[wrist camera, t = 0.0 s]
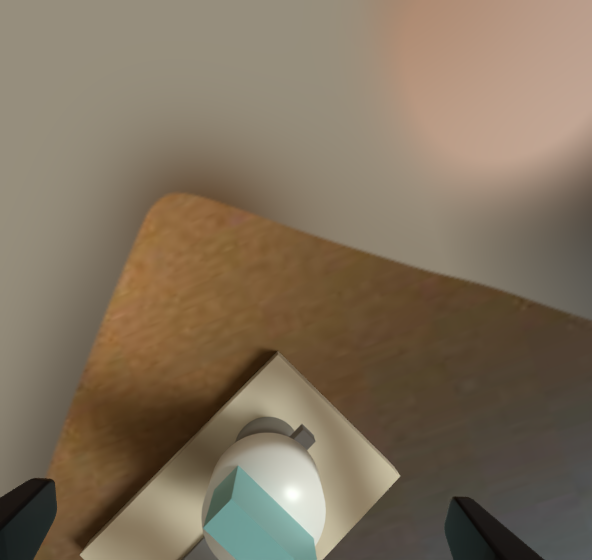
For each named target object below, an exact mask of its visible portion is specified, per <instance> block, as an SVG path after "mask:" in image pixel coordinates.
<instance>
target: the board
mask: <svg viewBox="0 0 592 560" xmlns="http://www.w3.org/2000/svg"><path fill="white" fill-rule="evenodd" d="M257 433H277V434H282V435H285V436H288V437H290V438H292V439H294V440H295V441H297V442H298V443H300V444H301V445H302V446H303V447H304V448H305V449H306V450H307V451H308V452H309V454H310V455H311V457H312V458H313V460H314V462H315V464H316V467H317V470H318V473H319V477H320V482H321V486H322V490H323V494H324V499H325V507H326V516H325V523H324V528H323V531H322V534H321V536H320V539H319V541H318V543H317V544H316V546H315V550H316V557H317V560H323V559H324V557H325V556H326V555H327V554H328V553H329V552H330V551H331V550H332V549H333V548H334V547H335V546H336V545H337V543H338V542H339V541H340V540H341V539H342V538H343V537H344V536H345V535H346V534H347V533H348V532H349V531H350V530H351V528H352V527H353V526H354V525H355V524H356V523H357V522H358V521H359V520H360V519H361V518H362V517H363V516H364V515H365V513H366V512H367V511H368V510H369V509H370V508H371V507H372V506H373V505H374V504H375V503H376V502H377V501H378V500H379V498H380V497H381V496H382V495H383V494H384V493H385V492H386V491H387V490H388V489H389V488H390V487H391V486H392V484H393V483H394V482H395V481H396V480H397V479H398V478H399V477H400V475H399V473H398V472H397V470H396V469H395V467H394V466H393V465H392V464H391V463H390V462H389V461H388V460H387V459H386V458H385V457H384V456H383V455H382V454H381V453H380V452H379V451H378V450H377V449H376V448H375V447H374V446H373V445H372V444H371V443H370V442H369V441H368V440H367V439H366V438H365V437H364V436H363V435H362V434H361V433H360V432H359V431H358V430H357V429H356V428H355V427H354V426H353V425H352V424H351V423H350V422H349V421H348V420H347V419H346V418H345V417H344V416H343V415H342V414H341V413H340V412H339V411H338V410H337V409H336V408H335V407H334V406H333V405H332V404H331V403H330V402H329V401H328V400H327V399H326V398H325V397H324V396H323V395H322V394H321V393H320V392H319V391H318V390H317V389H316V388H315V387H314V386H313V385H312V384H311V383H310V382H309V381H308V380H307V379H306V378H305V377H304V376H303V375H302V374H301V373H300V372H299V371H298V370H297V369H296V368H295V367H294V366H293V365H292V364H291V363H290V362H289V361H288V360H287V359H286V358H285V357H284V356H283V355H281V354H280V353H279V352H278V351H277V352H276V353H275V354H274V355H273V356H272V357H271V358H270V359H269V360H268V361H267V362H266V363H265V364H264V365H263V366H262V367H261V368H260V369H259V370H258V371H257V372H256V373H255V374H254V375H253V376H252V377H251V378H250V379H249V380H248V381H247V382H246V383H245V384H244V386H243V387H242V388H241V389H240V390H239V391H238V392H237V393H236V394H235V395H234V396H233V397H232V398H231V399H230V400H229V401H228V402H227V403H226V404H225V405H224V406H223V407H222V408H221V409H220V410H219V411H218V412H217V413H216V414H215V415H214V416H213V417H212V418H211V419H210V420H209V421H208V422H207V423H206V424H205V425H204V426H203V427H202V428H201V429H200V430H199V431H198V432H197V433H196V434H195V435H194V436H193V437H192V438H191V439H190V440H189V441H188V442H187V443H186V444H185V445H184V446H183V447H182V448H181V449H180V450H179V451H178V452H177V453H176V454H175V455H174V456H173V457H172V458H171V459H170V460H169V461H168V462H167V463H166V464H165V465H164V466H163V467H162V468H161V469H160V470H159V471H158V472H157V473H156V474H155V475H154V476H153V477H152V478H151V479H150V480H149V481H148V482H147V483H146V484H145V485H144V486H143V487H142V488H141V489H140V490H139V491H138V492H137V493H136V494H135V495H134V496H133V497H132V498H131V499H130V500H129V501H128V502H127V503H126V504H125V505H124V506H123V507H122V508H121V509H120V511H119V512H118V513H117V514H116V515H115V516H114V517H113V518H112V519H111V520H110V521H109V522H108V523H107V524H106V525H105V526H104V527H103V528H102V529H101V530H100V531H99V532H98V533H97V534H96V535H95V536H94V537H93V538H92V539H91V540H90V541H89V542H88V544H87V545H86V547H85V548H84V549H83V551H82V552H81V554H80V556H81V557H82V558H83V559H84V560H218V558H217V557H216V556H215V555H214V554H213V552H212V551H211V550H210V548H209V546H208V544H207V542H206V540H205V537H204V534H203V529H202V520H201V515H202V506H203V501H204V498H205V495H206V492H207V489H208V486H209V483H210V479H211V476H212V473H213V471H214V468H215V466H216V464H217V462H218V460H219V459H220V457H221V456H222V455H223V453H224V452H225V451H226V450H227V449H228V448H229V447H230V446H231V445H233V444H234V443H236V442H237V441H239V440H240V439H242V438H244V437H247V436H250V435H253V434H257Z"/></svg>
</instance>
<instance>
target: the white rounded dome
mask: <svg viewBox="0 0 592 560" xmlns="http://www.w3.org/2000/svg"><path fill="white" fill-rule="evenodd" d="M325 516H326V507H325V499H324V494H323V490H322V486H321V482H320V477H319V473H318V470H317V467H316V464H315V462H314V460H313V458H312V457H311V455H310V454H309V452H308V451H307V450H306V449H305V448H304V447H303V446H302V445H301V444H300V443H298V442H297V441H295V440H294V439H292V438H290V437H288V436H285V435H282V434H277V433H257V434H253V435H250V436H247V437H244V438H242V439H240V440H239V441H237V442H236V443H234V444H233V445H231V446H230V447H229V448H228V449H227V450H226V451H225V452H224V453H223V455H222V456H221V457H220V459H219V460H218V462H217V464H216V466H215V468H214V471H213V473H212V476H211V479H210V483H209V486H208V489H207V492H206V495H205V498H204V501H203V506H202V515H201V520H202V529H203V534H204V537H205V540H206V542H207V544H208V546H209V548H210V550H211V551H212V552H213V554H214V555H215V556H216V557H217V558H218V560H317V557H316V550H315V546H316V544H317V543H318V541H319V539H320V536H321V534H322V531H323V528H324V523H325Z"/></svg>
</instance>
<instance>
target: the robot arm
mask: <svg viewBox="0 0 592 560" xmlns="http://www.w3.org/2000/svg"><path fill="white" fill-rule="evenodd" d="M56 512H57V501H56V490H55V482H54V481H53V480H52V479H47V478H33V479H30V480H28V481H26V482H25V483H23V484H22V485H20V486H18V487H17V488H15V489H13V490H12V491H10V492H9V493H7V494H5V495H4V496H2V497H0V560H33V559H34V557H35V555H36V553H37V551H38V550H39V548H40V546H41V544H42V542H43V540H44V538H45V536H46V535H47V533H48V531H49V529H50V527H51V525H52V523H53V521H54V519H55V516H56ZM444 530H445V535H446V539H447V542H448V545H449V548H450V551H451V554H452V557H453V560H544V559H543V558H542V557H540V556H539V555H538V554H537V553H536V552H535V551H533V550H532V549H531V548H530V547H529V546H527V545H526V544H525V543H524V542H523V541H521V540H520V539H519V538H518V537H517V536H516V535H514V534H513V533H512V532H511V531H510V530H508V529H507V528H506V527H505V526H504V525H503V524H501V523H500V522H499V521H498V520H497V519H495V518H494V517H493V516H492V515H491V514H490V513H488V512H487V511H486V510H485V509H484V508H482V507H481V506H480V505H479V504H478V503H476V502H475V501H474V500H473V499H471V498H469V497H453V498H452V499H451V500H450V503H449V507H448V511H447V515H446V518H445V523H444Z"/></svg>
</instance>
